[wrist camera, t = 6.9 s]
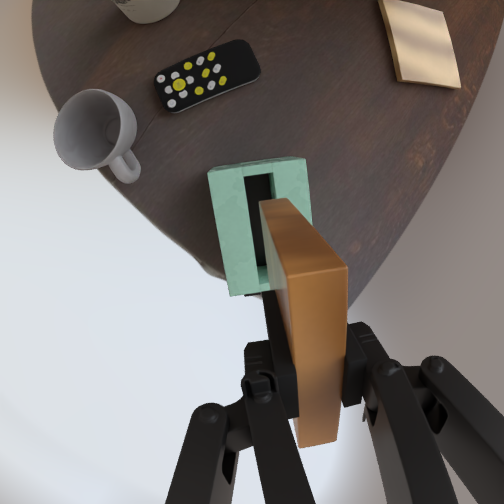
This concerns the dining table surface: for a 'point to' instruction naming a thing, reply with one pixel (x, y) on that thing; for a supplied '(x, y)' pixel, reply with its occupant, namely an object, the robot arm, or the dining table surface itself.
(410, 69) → the board
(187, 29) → the dining table surface
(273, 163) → the toaster
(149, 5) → the travel mug
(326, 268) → the toast
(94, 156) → the mug
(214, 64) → the remote control
